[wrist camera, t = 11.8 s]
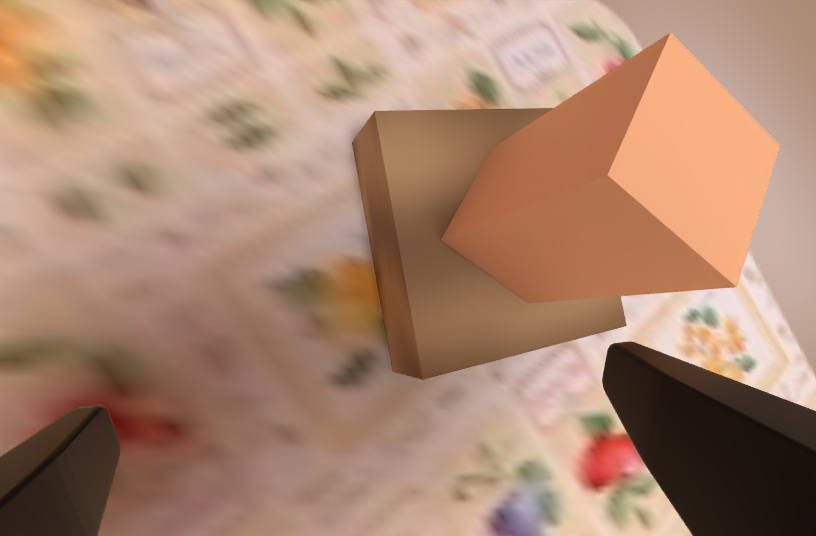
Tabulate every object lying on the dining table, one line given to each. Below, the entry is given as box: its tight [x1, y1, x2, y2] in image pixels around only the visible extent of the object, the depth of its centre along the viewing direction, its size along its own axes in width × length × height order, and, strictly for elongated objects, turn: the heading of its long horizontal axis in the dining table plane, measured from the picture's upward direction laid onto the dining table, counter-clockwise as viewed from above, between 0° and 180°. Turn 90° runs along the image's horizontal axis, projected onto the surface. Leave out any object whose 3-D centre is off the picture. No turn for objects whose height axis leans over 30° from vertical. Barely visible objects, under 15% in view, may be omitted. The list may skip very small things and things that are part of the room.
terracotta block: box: [441, 33, 780, 303], centre depth 17 cm, size 5×5×9 cm
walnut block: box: [352, 108, 626, 379], centre depth 23 cm, size 11×11×4 cm
